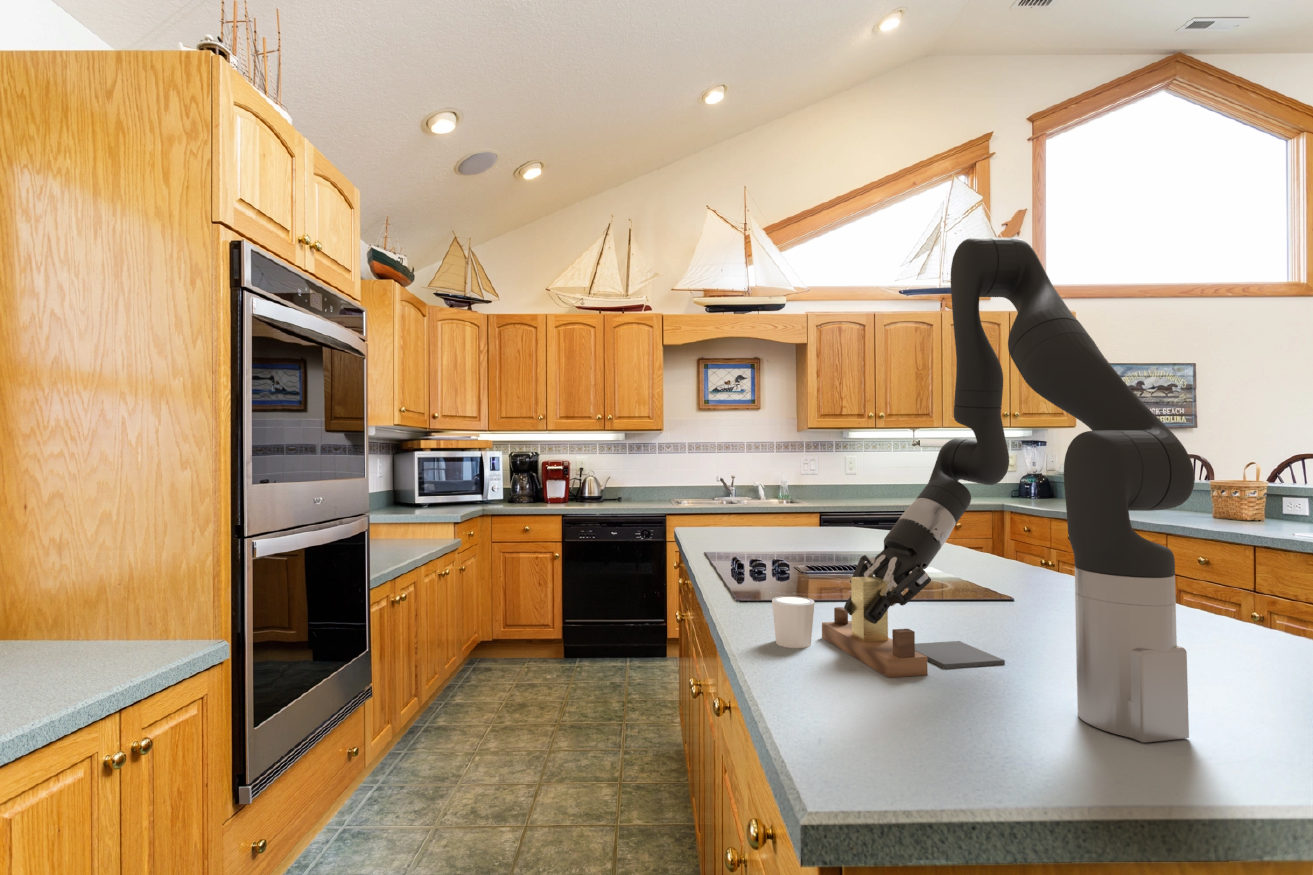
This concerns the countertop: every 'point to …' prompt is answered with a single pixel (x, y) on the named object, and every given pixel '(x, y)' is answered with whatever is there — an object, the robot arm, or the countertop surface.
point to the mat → (956, 655)
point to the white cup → (793, 621)
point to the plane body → (877, 648)
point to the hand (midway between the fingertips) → (859, 615)
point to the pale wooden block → (861, 599)
